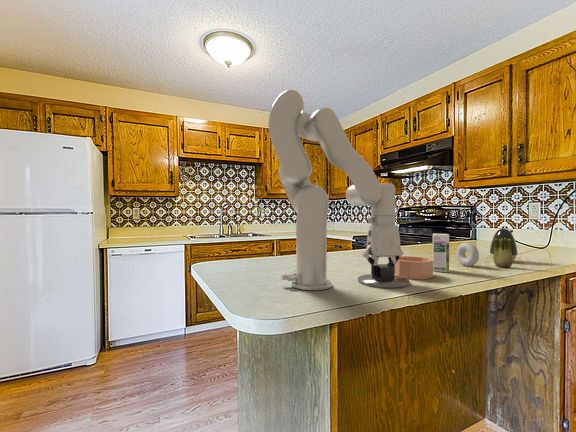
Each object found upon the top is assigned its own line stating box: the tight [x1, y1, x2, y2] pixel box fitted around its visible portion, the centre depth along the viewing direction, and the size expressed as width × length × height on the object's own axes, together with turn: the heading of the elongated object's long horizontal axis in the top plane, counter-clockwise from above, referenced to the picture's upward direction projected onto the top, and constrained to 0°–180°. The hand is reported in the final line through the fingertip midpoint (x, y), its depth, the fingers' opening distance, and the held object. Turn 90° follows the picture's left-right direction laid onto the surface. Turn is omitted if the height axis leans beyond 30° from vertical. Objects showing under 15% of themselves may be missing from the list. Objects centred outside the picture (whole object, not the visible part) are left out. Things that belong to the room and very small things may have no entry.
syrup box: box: [432, 233, 450, 274], centre depth 112 cm, size 6×6×14 cm
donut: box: [455, 242, 480, 267], centre depth 122 cm, size 10×4×10 cm, turn 15°
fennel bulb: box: [493, 238, 514, 269], centre depth 119 cm, size 6×5×12 cm
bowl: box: [394, 255, 434, 281], centre depth 104 cm, size 13×13×6 cm
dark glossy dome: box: [489, 228, 518, 261], centre depth 133 cm, size 10×10×15 cm
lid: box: [357, 263, 410, 290], centre depth 95 cm, size 16×16×6 cm
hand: (383, 275), depth 95 cm, fingers closed on lid, 5 cm apart
